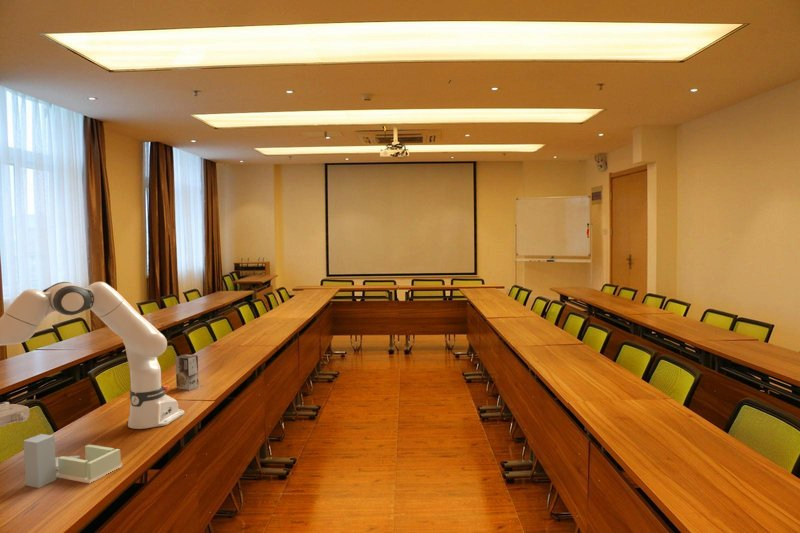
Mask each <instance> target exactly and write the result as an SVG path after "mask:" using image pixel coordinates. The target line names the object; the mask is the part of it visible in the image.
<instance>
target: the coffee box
mask: <svg viewBox="0 0 800 533" xmlns="http://www.w3.org/2000/svg"><path fill="white" fill-rule="evenodd" d="M174 359H175V378H176V379H175V381H176V389H180V390H186V391H187V390H188V391H190V390H194V389H196V388H199V387H200V386H199V385H200V384H199V383H200V382H199V363H198V362H199V361H198V360H199V358H198V355H194V354H181V355H179V356H175V358H174Z"/></svg>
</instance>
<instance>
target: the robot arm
mask: <svg viewBox="0 0 800 533" xmlns="http://www.w3.org/2000/svg"><path fill="white" fill-rule="evenodd" d="M87 310H91V311H92V312H93V313H94V314H95V315H96V317H98V318H99V319H100V321H101V322H102V323H104V324H105V325H106V326H107V327H108V328H109V329H110V330H111V331H112V332H113V333H114V334H115V335H117V336H118V337H119V338H121V339H122V343H123V345H124V347H125V353H126V358H127V363H128V367H129V374H130V375H129V376H130V390H129V399H130V407H129V416H128V418H127V419H128V420H127V422H128V423H127V427H128V428H130V429H135V430H142V429H143V430H144V429H149V428H151V429H152V428H156V427H164V426H167V425H168V424H170V423H172V422H174V421H175V420H176V419H178V418H179V417H182V416H183V415H185V410H183V409H182V408H179V403H178V401H177V400H176V399H175V398H173V397H171V396H169V395H168V394H166V392H165V391H168V392H169V391H170V385H163V386H162V371H161V370H162V367H161V366H160V363H159V361H158V357H160V356H162V355H163V353H165V351H166V350H167V348H168V341H167V340H168V339H167V338H166V337H165V335H164V334H163V333H161V331H159V330H158V329H157V328H156V327H155V326H154V325H153V324H152V323H150V321H148V320H147V319H146V318H144V316H142V315H141V314H140V313H139V312H138V311H137V309H135V308H134V307H133V305H131V304H130V303H129V302H128V301H127V300H126V299H125V298H124V296H122V294H120V293H119V292H118V291H117V290H116V289H115V288H113V287H112V286H111V285H110V284H108V283H107V282H104V281H95V282H93V283H91V284H89V285H88V286H85V287H81V286H79V285H77V284H75V283H72V282H68V281H62V282H61V281H60V282H57V283H55V284H53V285H51V286H49V287H47V288H45V289H43V290H40V289H36V288H35V289H34V288H29V289H26V290H23V291H22V292H21V293H20V294H19V295H18V296H17V297H16V298H14V300H13V302H12V303H10V305H9V307H8V308H7V309H6V310H5V312H4V313H3V314H2V316H0V347H1V346H11V345H12V346H13V345H18V344H22V343H25V342H27V341H29V340H30V339H31V338H32V337H33V336H34V335H35V333H36V332H37V330H38V329H39V328H40V326H41V324H42V323H43V321H44V319H45V318H47V316H48V315H51V313H53V312H58V313H59V314H62V315H64V316H75V315H78V314H80V313H83V312H85V311H87ZM29 417H30V408H29V407H28V406H27V405H26V406H25V405H24V404H23V405H22V404H15V403H11V404H10V402H9V401H2V402H0V428H2V427H5V426H8V425H11V424H14V423H17V422H19V423H23V422H27V421H28V418H29Z"/></svg>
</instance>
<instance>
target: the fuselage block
mask: <svg viewBox="0 0 800 533" xmlns="http://www.w3.org/2000/svg"><path fill="white" fill-rule="evenodd" d="M55 442H56V441H55V435H52V434H51V435H50V434H44V433H40V434H37V435H35V436H32V437H29V438H26V439H23V453H24V471H25V473H24V474H25V477H24V478H25V486H28V487H32V488H35V489H36V488H37V489H40V488H42V487H44V486H47V485H49V484H51V483H53V482H54V481H56V480H57V477H56V474H57V470H56V461H55V457H56V446H55V444H56V443H55Z"/></svg>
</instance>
